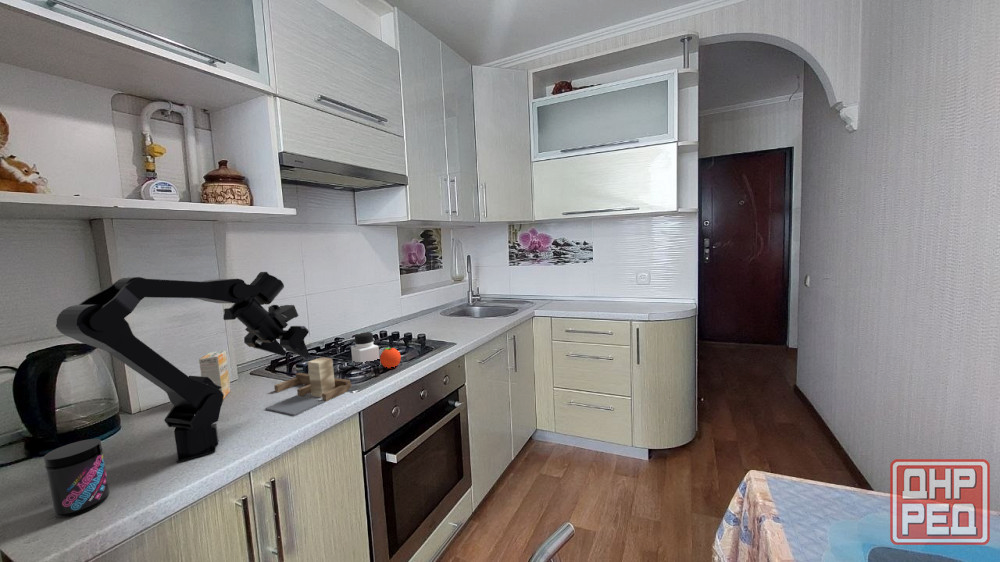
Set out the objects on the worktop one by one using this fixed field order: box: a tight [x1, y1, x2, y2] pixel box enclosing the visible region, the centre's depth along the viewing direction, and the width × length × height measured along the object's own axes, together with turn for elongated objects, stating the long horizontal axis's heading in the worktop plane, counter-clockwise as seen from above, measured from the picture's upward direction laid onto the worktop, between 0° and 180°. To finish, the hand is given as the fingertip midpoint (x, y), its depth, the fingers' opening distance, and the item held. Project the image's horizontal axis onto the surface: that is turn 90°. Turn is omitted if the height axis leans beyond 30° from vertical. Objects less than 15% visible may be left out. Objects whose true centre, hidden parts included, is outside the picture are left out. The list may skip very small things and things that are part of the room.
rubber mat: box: [265, 394, 326, 417], centre depth 106 cm, size 9×12×1 cm
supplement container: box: [43, 438, 111, 518], centre depth 67 cm, size 7×7×10 cm
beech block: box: [307, 356, 335, 398], centre depth 114 cm, size 5×5×10 cm
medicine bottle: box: [350, 331, 381, 362], centre depth 138 cm, size 7×7×12 cm
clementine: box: [380, 347, 402, 369], centre depth 135 cm, size 8×7×7 cm
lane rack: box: [274, 372, 353, 402], centre depth 117 cm, size 9×22×3 cm, turn 63°
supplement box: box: [198, 350, 231, 400], centre depth 116 cm, size 8×5×13 cm, turn 22°
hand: (296, 355), depth 107 cm, fingers open, 9 cm apart
